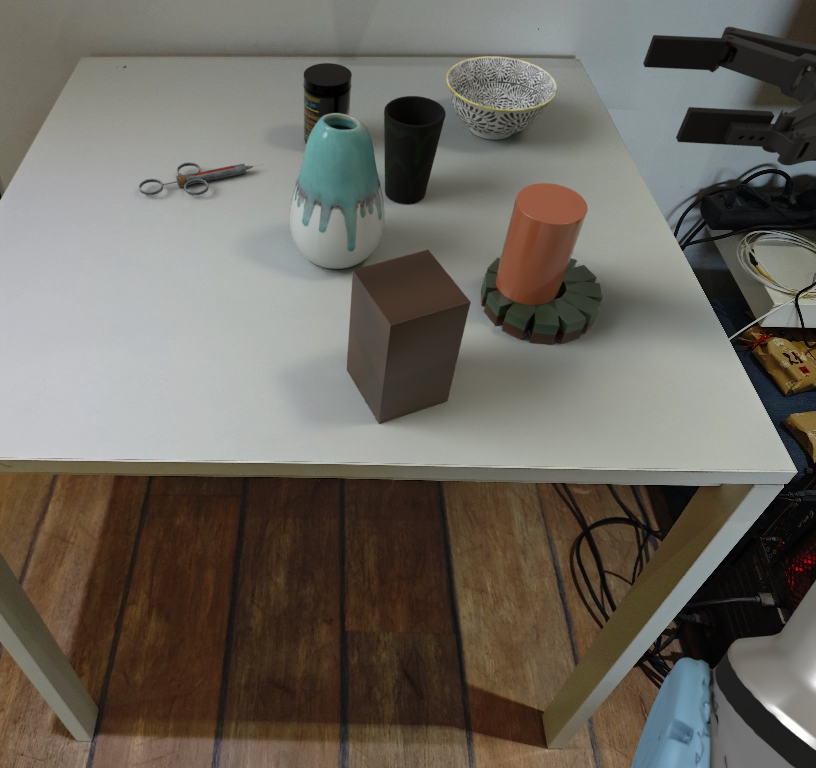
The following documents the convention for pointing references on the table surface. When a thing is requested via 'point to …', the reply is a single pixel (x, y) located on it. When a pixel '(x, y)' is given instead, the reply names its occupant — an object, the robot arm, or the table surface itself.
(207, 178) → the syringe
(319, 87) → the supplement container
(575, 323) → the segmented green ring
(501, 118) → the bowl
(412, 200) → the cup
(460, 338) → the dark brown rectangular block
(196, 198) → the table surface
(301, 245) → the vase
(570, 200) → the orange glossy cylinder
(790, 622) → the robot arm
